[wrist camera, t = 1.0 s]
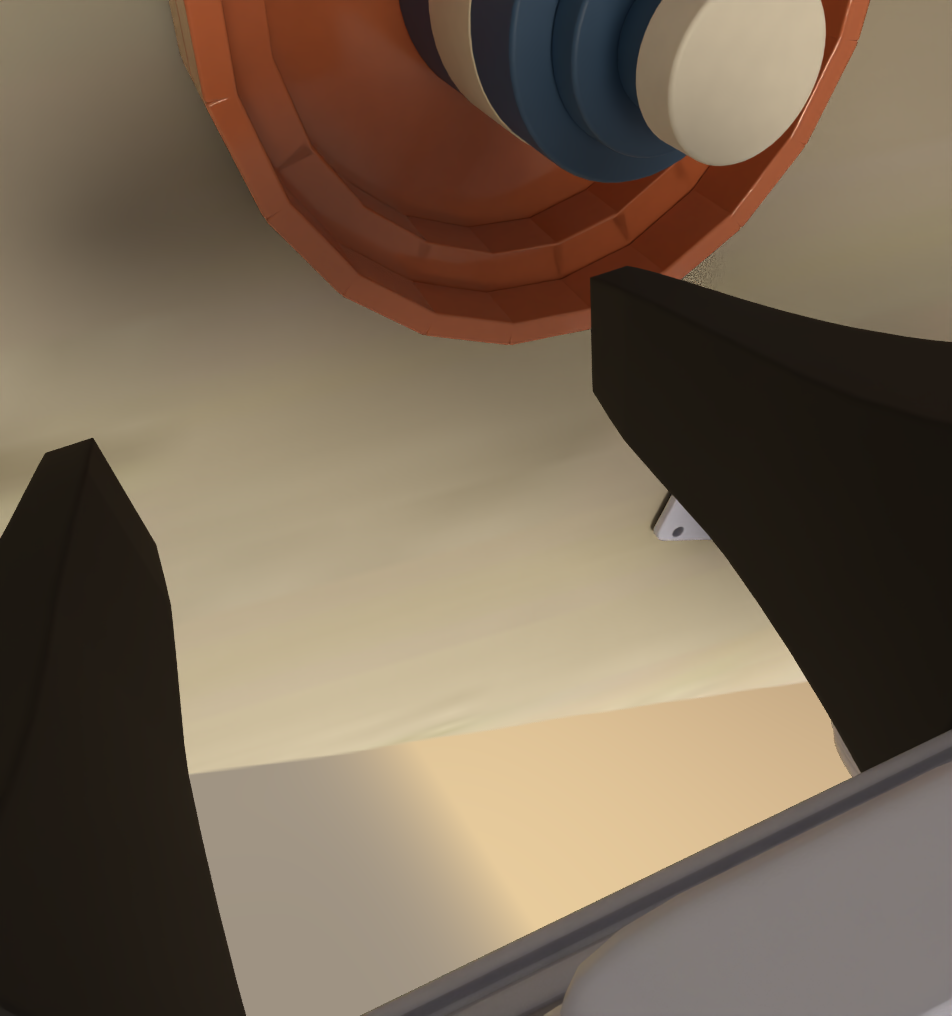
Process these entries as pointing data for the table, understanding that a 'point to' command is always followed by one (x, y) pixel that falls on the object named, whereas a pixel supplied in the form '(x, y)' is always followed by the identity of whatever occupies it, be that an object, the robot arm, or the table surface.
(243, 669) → the table surface
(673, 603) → the table surface
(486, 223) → the terracotta bowl
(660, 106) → the bottle
